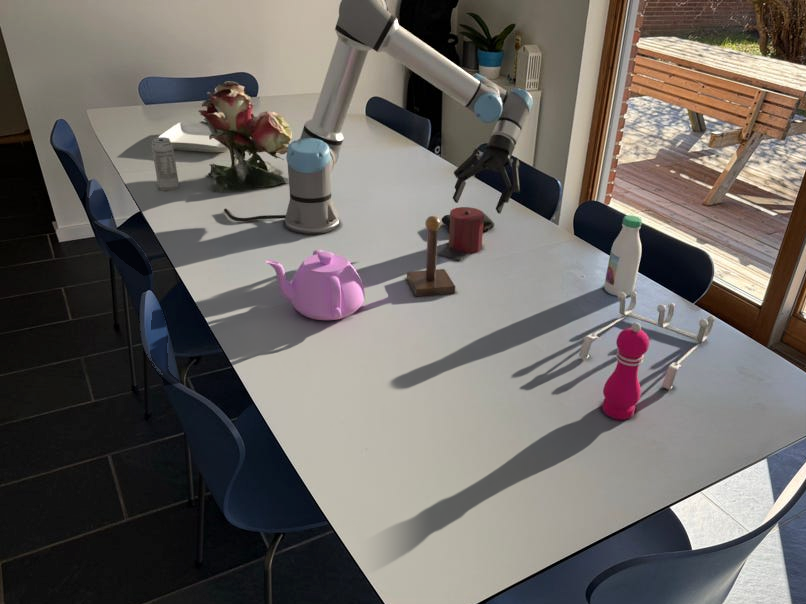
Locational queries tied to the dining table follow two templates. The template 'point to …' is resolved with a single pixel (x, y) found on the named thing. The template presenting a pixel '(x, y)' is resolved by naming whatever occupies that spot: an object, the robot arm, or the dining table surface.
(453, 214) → the cap
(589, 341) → the over door rack
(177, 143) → the square plate
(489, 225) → the carrying case
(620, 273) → the milk bottle
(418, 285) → the hat stand
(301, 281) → the teapot
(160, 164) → the energy drink can
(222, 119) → the rose bouquet
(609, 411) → the pepper mill
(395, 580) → the dining table surface
